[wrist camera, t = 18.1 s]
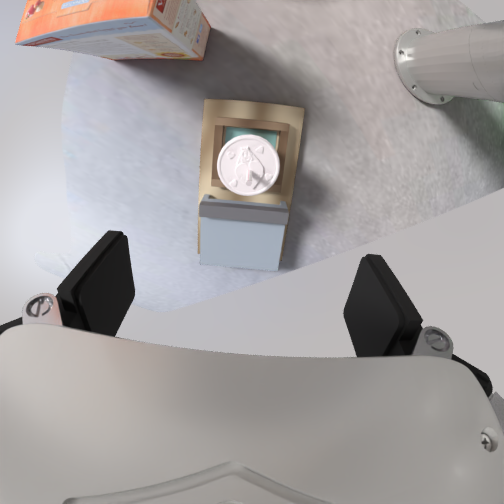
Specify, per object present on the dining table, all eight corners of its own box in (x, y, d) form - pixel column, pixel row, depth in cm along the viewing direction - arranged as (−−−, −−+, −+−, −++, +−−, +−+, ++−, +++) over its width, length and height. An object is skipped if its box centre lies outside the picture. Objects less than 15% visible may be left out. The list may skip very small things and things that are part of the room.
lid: (285, 201, 39) (289, 213, 35) (276, 260, 44) (278, 277, 40) (204, 194, 38) (199, 205, 35) (203, 254, 43) (198, 270, 39)
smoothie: (230, 178, 38) (219, 217, 25) (220, 133, 35) (202, 148, 22) (277, 170, 37) (290, 205, 25) (269, 124, 34) (278, 134, 22)
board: (303, 108, 34) (307, 108, 31) (280, 257, 45) (282, 267, 42) (205, 98, 33) (201, 98, 31) (199, 249, 45) (195, 259, 42)
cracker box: (212, 24, 28) (171, -45, 10) (203, 62, 31) (149, 21, 12) (119, 24, 27) (27, -10, 8) (111, 60, 29) (11, 47, 11)
